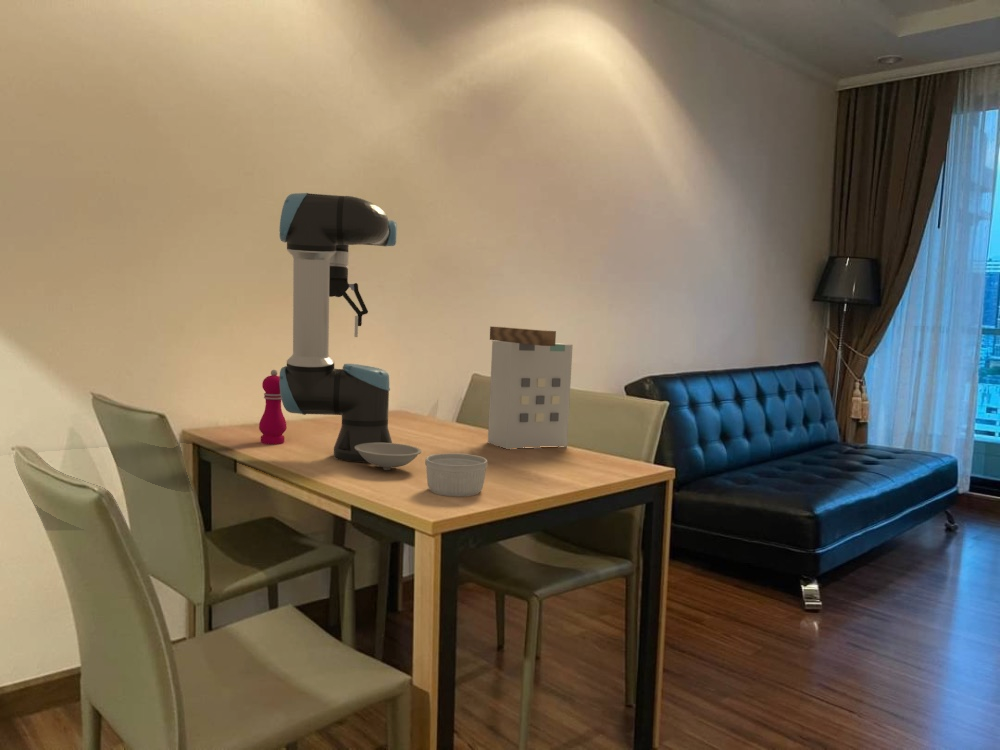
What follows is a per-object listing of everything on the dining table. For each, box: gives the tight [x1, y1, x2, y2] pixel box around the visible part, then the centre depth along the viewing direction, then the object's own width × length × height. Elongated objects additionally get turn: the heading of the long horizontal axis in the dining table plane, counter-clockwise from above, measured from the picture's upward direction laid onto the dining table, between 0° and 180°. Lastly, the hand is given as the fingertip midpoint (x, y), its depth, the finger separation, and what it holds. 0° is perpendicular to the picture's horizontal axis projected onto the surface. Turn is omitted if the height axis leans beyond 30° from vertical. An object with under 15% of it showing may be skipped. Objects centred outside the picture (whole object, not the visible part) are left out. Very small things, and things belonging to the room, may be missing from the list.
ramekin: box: [424, 452, 488, 498], centre depth 165 cm, size 13×13×7 cm
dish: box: [354, 442, 422, 471], centre depth 184 cm, size 18×14×5 cm
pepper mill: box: [258, 369, 287, 445], centre depth 211 cm, size 7×7×20 cm
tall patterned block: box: [487, 340, 573, 450], centre depth 227 cm, size 13×20×30 cm, turn 117°
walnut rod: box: [489, 326, 557, 346], centre depth 222 cm, size 32×4×4 cm, turn 27°
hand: (333, 336), depth 237 cm, fingers open, 13 cm apart
